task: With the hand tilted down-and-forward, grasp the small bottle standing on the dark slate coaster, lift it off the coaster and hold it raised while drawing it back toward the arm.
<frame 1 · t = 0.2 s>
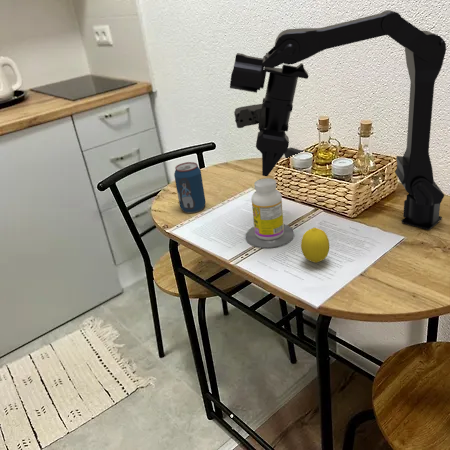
hand: (265, 167, 103), 16 cm above the table, tool tilted 15°, fingers open, 9 cm apart
coaster: (269, 236, 108), on the table
supplement bottle: (269, 234, 107), resting on coaster
gun: (311, 179, 134), on the table
soda can: (193, 208, 126), on the table
lemon: (315, 263, 96), on the table
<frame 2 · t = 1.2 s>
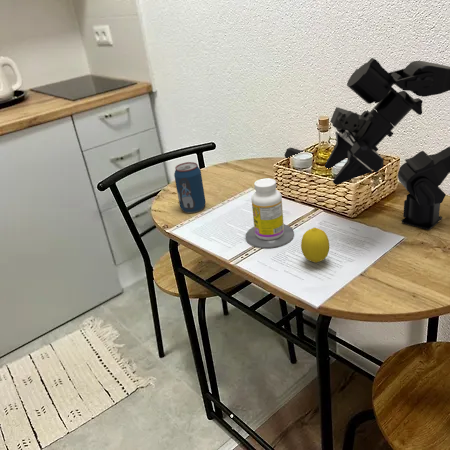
hand: (330, 175, 101), 13 cm above the table, tool tilted 45°, fingers open, 9 cm apart
nothing on the table moved.
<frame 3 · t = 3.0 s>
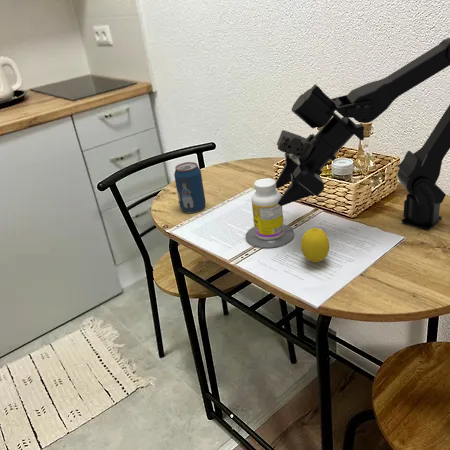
hand: (277, 195, 103), 10 cm above the table, tool tilted 45°, fingers open, 9 cm apart
nothing on the table moved.
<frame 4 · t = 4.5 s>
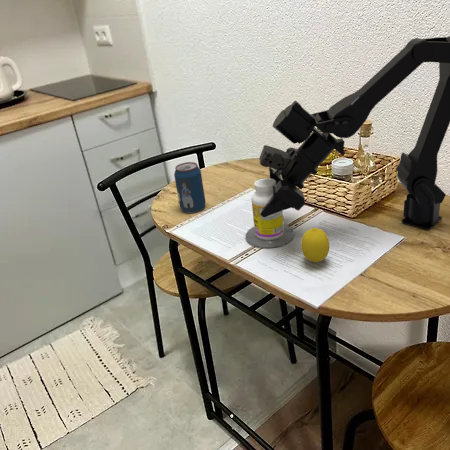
hand: (261, 208, 104), 7 cm above the table, tool tilted 45°, fingers closed on supplement bottle, 7 cm apart
supplement bottle: (269, 234, 107), resting on coaster, touching gripper
everything else where it was.
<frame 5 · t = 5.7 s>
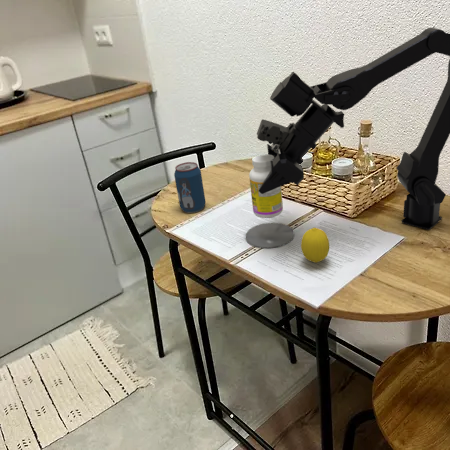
hand: (259, 185, 102), 13 cm above the table, tool tilted 45°, fingers closed on supplement bottle, 7 cm apart
supplement bottle: (268, 213, 105), point 6 cm above the table, touching gripper
everything else where it was.
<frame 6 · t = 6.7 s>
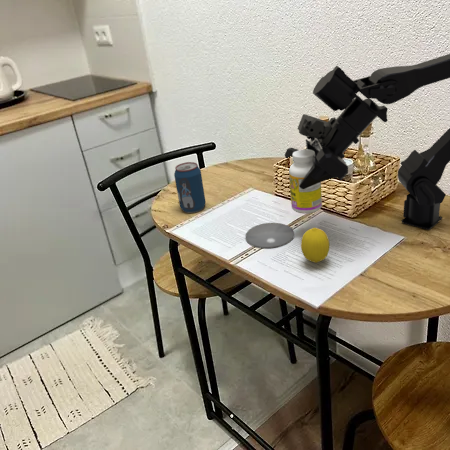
hand: (298, 181, 101), 13 cm above the table, tool tilted 45°, fingers closed on supplement bottle, 7 cm apart
supplement bottle: (306, 208, 104), point 6 cm above the table, touching gripper
everything else where it was.
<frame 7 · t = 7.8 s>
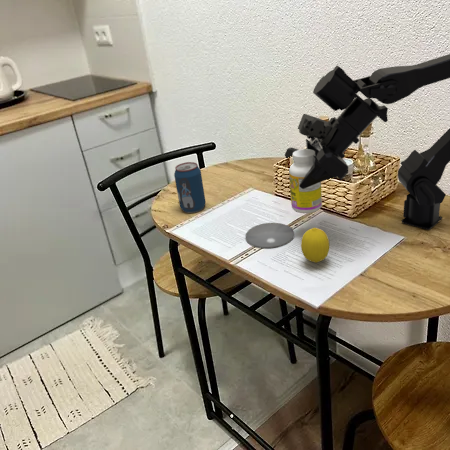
hand: (298, 181, 101), 13 cm above the table, tool tilted 45°, fingers closed on supplement bottle, 7 cm apart
supplement bottle: (306, 208, 104), point 6 cm above the table, touching gripper
everything else where it was.
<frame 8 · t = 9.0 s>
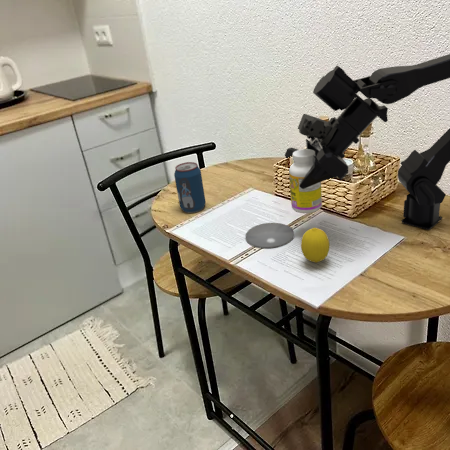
hand: (298, 181, 101), 13 cm above the table, tool tilted 45°, fingers closed on supplement bottle, 7 cm apart
supplement bottle: (306, 208, 104), point 6 cm above the table, touching gripper
everything else where it was.
at the end: the gripper is holding supplement bottle; supplement bottle point 6.0 cm above the table; supplement bottle touching gripper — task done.
